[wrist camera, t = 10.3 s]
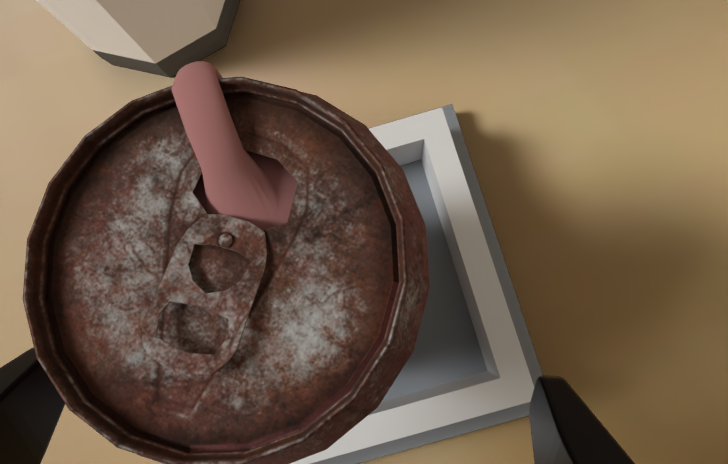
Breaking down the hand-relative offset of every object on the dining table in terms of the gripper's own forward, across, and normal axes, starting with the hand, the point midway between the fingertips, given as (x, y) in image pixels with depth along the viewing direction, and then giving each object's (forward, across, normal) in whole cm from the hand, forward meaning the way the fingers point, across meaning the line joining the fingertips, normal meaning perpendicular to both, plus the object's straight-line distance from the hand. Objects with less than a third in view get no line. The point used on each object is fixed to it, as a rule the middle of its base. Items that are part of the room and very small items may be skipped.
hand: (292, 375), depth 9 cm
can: (+9, +1, +6) cm, 11 cm away
